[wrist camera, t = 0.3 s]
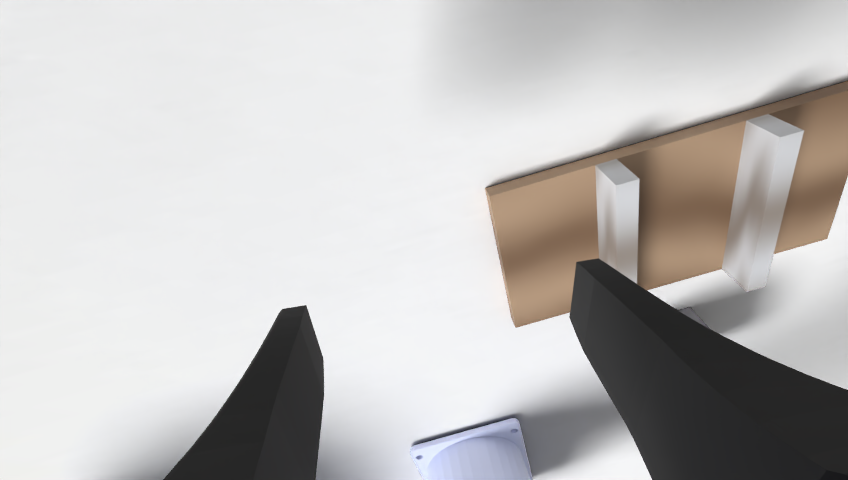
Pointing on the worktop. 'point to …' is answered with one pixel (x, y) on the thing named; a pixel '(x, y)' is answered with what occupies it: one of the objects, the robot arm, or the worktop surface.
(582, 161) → the end holder
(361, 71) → the worktop surface
